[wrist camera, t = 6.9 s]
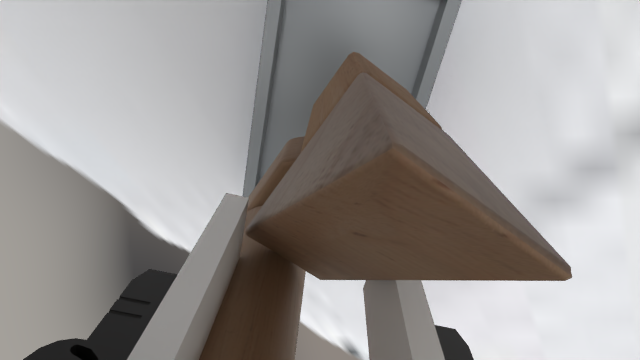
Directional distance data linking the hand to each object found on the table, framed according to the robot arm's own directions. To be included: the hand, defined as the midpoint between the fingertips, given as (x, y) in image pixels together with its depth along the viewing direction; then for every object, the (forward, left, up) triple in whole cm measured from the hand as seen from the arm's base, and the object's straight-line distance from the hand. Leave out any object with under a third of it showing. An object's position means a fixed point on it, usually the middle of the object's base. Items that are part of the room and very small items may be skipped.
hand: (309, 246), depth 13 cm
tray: (0, +1, -23) cm, 23 cm away
